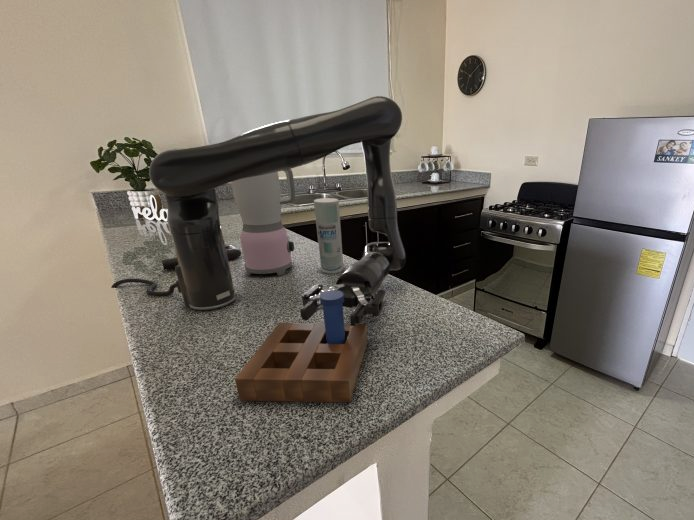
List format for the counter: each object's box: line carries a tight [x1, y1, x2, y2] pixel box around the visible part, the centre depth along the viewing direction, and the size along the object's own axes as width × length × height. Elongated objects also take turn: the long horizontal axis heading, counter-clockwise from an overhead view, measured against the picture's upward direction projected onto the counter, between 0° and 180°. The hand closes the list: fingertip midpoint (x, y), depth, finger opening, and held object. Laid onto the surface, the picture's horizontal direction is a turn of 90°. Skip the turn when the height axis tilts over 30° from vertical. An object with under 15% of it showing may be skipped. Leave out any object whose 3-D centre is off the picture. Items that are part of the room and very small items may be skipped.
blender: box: [230, 168, 296, 276], centre depth 94 cm, size 16×12×32 cm
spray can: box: [313, 197, 344, 274], centre depth 97 cm, size 6×6×20 cm
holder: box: [234, 322, 368, 403], centre depth 58 cm, size 16×16×4 cm
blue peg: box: [319, 290, 346, 344], centre depth 60 cm, size 4×4×12 cm
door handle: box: [161, 244, 242, 270], centre depth 107 cm, size 3×20×16 cm
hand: (327, 318), depth 57 cm, fingers open, 8 cm apart
